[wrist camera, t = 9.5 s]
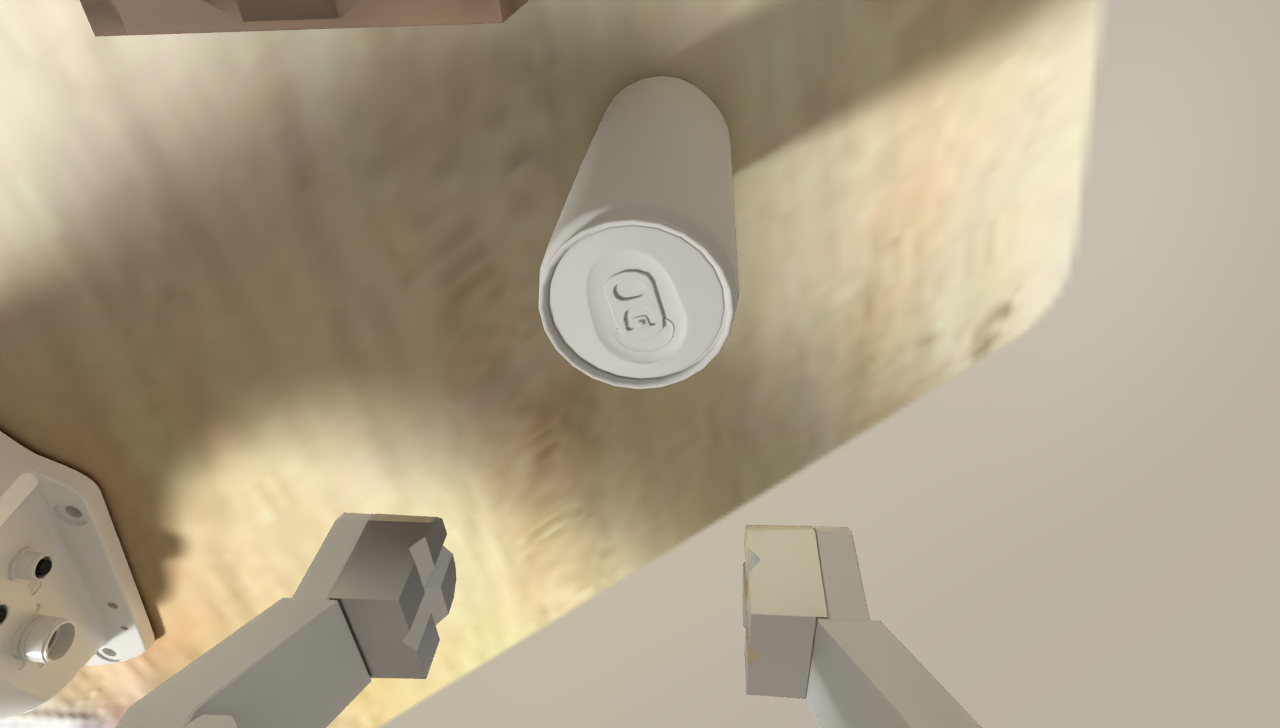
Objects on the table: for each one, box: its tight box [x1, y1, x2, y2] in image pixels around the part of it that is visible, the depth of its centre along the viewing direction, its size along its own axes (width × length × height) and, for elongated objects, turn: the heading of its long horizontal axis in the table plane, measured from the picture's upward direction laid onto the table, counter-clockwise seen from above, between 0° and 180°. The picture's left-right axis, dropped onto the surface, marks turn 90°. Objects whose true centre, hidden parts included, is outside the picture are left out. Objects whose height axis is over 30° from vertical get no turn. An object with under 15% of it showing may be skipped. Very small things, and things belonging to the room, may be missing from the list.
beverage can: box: [539, 76, 739, 389], centre depth 22 cm, size 5×5×12 cm
